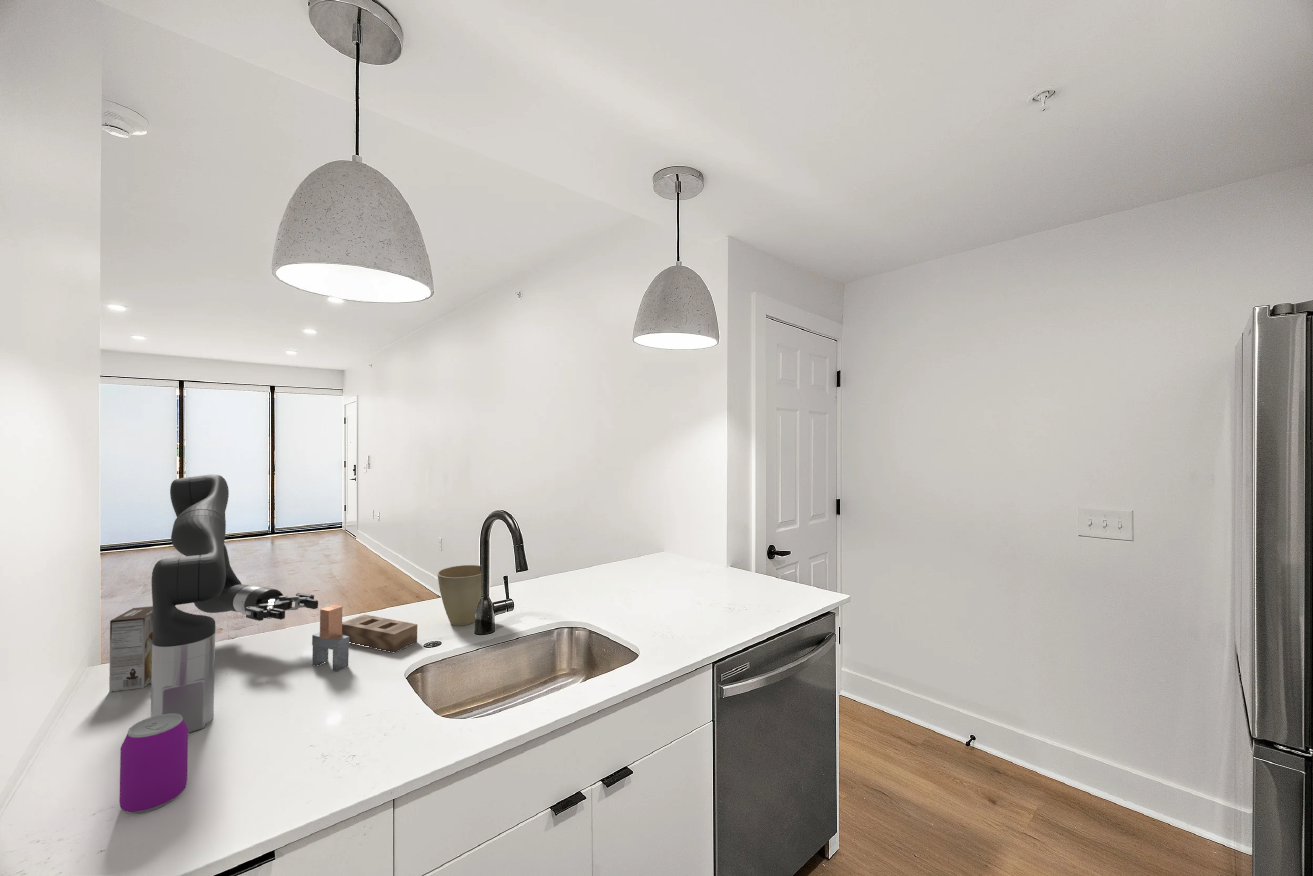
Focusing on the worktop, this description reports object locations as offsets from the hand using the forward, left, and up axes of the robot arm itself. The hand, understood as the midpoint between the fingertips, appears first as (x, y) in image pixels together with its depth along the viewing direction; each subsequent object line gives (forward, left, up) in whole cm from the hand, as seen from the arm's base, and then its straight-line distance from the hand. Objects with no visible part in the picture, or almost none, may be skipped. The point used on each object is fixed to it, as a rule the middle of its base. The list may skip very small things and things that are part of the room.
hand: (300, 609), depth 133 cm
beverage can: (-47, +25, -13) cm, 54 cm away
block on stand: (-10, -5, -12) cm, 17 cm away
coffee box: (+8, +30, -13) cm, 34 cm away
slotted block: (-1, -18, -12) cm, 22 cm away
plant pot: (0, -42, -13) cm, 44 cm away
